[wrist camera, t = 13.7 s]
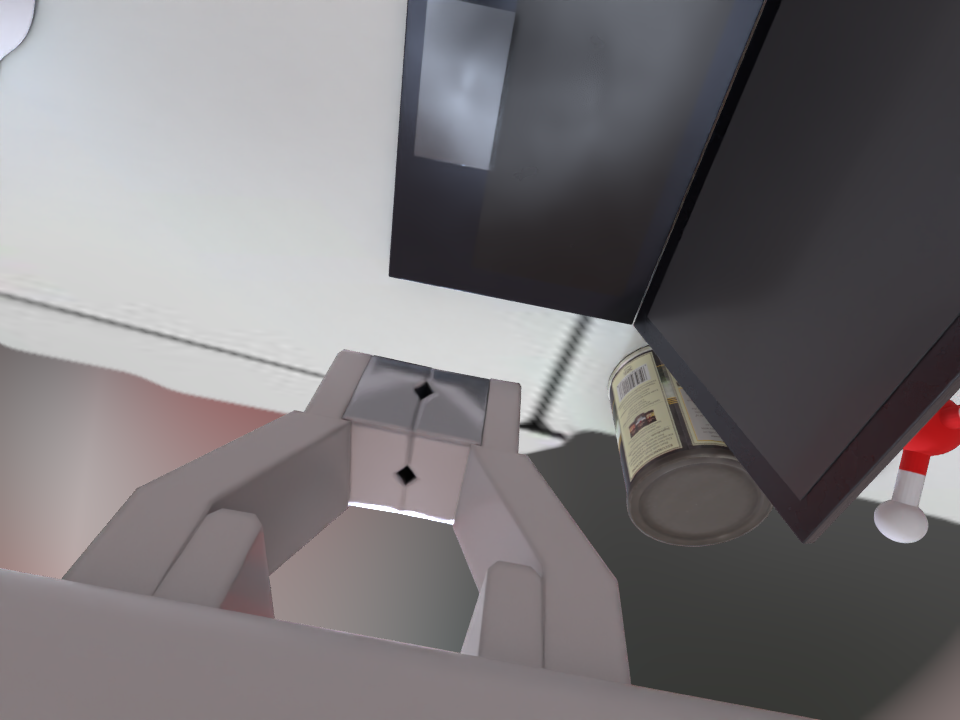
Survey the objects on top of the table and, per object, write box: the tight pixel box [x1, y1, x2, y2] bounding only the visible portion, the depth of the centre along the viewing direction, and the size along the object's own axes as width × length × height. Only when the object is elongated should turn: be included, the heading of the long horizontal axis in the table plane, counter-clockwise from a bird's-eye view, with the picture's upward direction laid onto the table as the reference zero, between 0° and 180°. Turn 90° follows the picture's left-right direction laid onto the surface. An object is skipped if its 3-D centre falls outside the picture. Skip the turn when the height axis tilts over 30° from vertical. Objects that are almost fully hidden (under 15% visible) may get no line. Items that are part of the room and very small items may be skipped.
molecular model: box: [874, 400, 960, 543], centre depth 43 cm, size 18×6×10 cm, turn 170°
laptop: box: [389, 0, 764, 324], centre depth 35 cm, size 21×30×2 cm
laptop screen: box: [634, 0, 960, 544], centre depth 26 cm, size 21×30×1 cm
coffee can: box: [608, 346, 773, 546], centre depth 43 cm, size 10×10×14 cm
